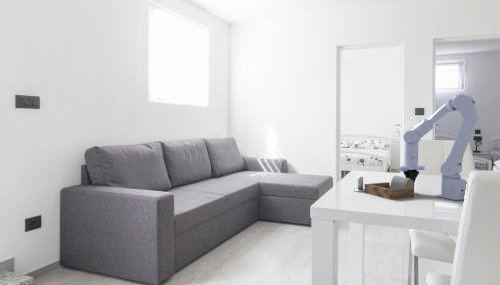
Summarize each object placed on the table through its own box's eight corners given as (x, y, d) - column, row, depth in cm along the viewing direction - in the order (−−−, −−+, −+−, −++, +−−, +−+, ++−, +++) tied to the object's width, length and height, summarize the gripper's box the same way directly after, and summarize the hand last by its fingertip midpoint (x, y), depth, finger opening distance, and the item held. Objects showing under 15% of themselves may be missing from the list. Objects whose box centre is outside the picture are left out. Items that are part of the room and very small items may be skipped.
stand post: (369, 191, 170) (370, 177, 170) (359, 192, 168) (359, 178, 168) (361, 189, 176) (361, 175, 176) (351, 190, 174) (351, 176, 173)
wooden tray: (414, 196, 158) (414, 187, 158) (389, 199, 153) (390, 190, 153) (387, 190, 173) (387, 182, 173) (364, 192, 168) (364, 184, 168)
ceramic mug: (407, 195, 161) (407, 178, 160) (389, 192, 167) (390, 176, 167) (418, 193, 167) (419, 176, 167) (401, 190, 174) (402, 174, 173)
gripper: (416, 155, 174) (415, 183, 174) (392, 156, 168) (392, 185, 169) (428, 156, 167) (427, 186, 168) (404, 158, 162) (403, 188, 162)
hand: (410, 186), depth 168 cm, fingers closed
